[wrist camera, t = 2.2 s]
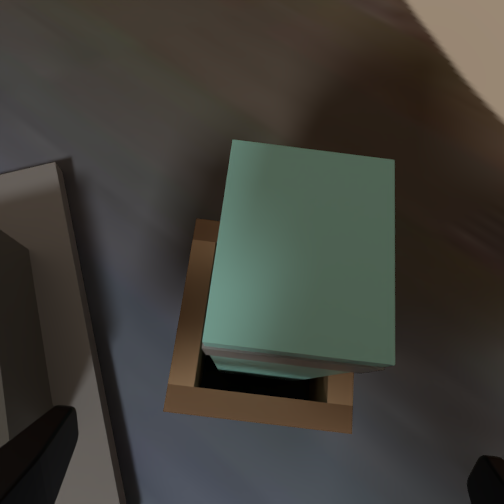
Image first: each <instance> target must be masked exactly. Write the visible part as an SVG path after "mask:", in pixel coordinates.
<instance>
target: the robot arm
mask: <svg viewBox="0 0 504 504" xmlns="http://www.w3.org/2000/svg"><path fill="white" fill-rule="evenodd" d="M78 435H79V430H78V421H77V412H76V409H75V408H74V407H72V406H65V405H56V406H54V407H52V408H51V409H50V410H48V411H47V412H46V413H44V414H43V415H42V416H41V417H39V418H38V419H37V420H35V421H34V422H33V423H31V424H30V425H29V426H28V427H26V428H25V429H24V430H22V431H21V432H20V433H18V434H17V435H16V436H15V437H13V438H12V439H11V440H9V441H8V442H7V443H5V444H4V445H3V446H2V447H0V504H55V502H56V499H57V496H58V493H59V491H60V488H61V485H62V482H63V480H64V477H65V474H66V472H67V469H68V466H69V463H70V461H71V458H72V455H73V452H74V450H75V447H76V444H77V441H78ZM467 488H468V493H469V497H470V501H471V504H504V460H503V459H502V458H500V457H495V456H487V455H482V456H481V457H479V458H478V460H477V462H476V464H475V466H474V467H473V469H472V471H471V473H470V475H469V477H468V480H467Z"/></svg>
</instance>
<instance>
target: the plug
mask: <svg viewBox="0 0 504 504" xmlns="http://www.w3.org/2000/svg"><path fill="white" fill-rule="evenodd" d="M202 350H203V351H204V353H205V354H206V355H210V356H211V358H212V360H213V362H214V363H215V365H216V367H217V369H218V370H219V372H220V373H228V374H237V375H245V376H253V377H262V378H270V379H278V380H287V381H298V380H305V379H311V378H317V377H324V376H330V375H336V374H343V373H349V372H353V373H367V372H374V371H382V370H384V367H387V366H393V365H395V160H392V159H384V158H376V157H368V156H360V155H352V154H344V153H336V152H328V151H320V150H312V149H304V148H296V147H288V146H280V145H273V144H265V143H257V142H249V141H241V140H232V147H231V153H230V160H229V166H228V173H227V180H226V186H225V193H224V200H223V206H222V213H221V220H220V226H219V233H218V240H217V246H216V253H215V260H214V266H213V273H212V279H211V286H210V293H209V299H208V306H207V313H206V319H205V326H204V333H203V339H202Z"/></svg>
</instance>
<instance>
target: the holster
mask: <svg viewBox="0 0 504 504" xmlns="http://www.w3.org/2000/svg"><path fill="white" fill-rule="evenodd" d="M219 226H220V221H213V220H205V219H196V224H195V229H194V235H193V241H192V247H191V253H190V259H189V264H188V270H187V276H186V282H185V288H184V293H183V299H182V305H181V311H180V317H179V323H178V328H177V334H176V340H175V346H174V352H173V357H172V363H171V369H170V375H169V381H168V387H167V392H166V398H165V404H164V410H163V412H171V413H180V414H188V415H197V416H205V417H214V418H222V419H230V420H239V421H247V422H256V423H264V424H273V425H281V426H289V427H298V428H306V429H315V430H323V431H332V432H340V433H348V434H352V412H353V378H354V373H353V372H349V373H343V374H336V375H330V376H324V377H317V378H311V379H310V384H309V400H308V401H307V400H299V399H291V398H282V397H274V396H266V395H257V394H249V393H240V392H232V391H224V390H215V389H207V388H201V383H202V376H203V370H204V363H205V356H206V354H205V353H204V351H203V350H202V339H203V333H204V326H205V319H206V313H207V306H208V299H209V293H210V286H211V279H212V273H213V266H214V260H215V253H216V246H217V240H218V233H219Z"/></svg>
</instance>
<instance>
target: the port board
mask: <svg viewBox="0 0 504 504" xmlns="http://www.w3.org/2000/svg"><path fill="white" fill-rule="evenodd" d="M56 405H65V406H72V407H74V408H75V409H76V412H77V421H78V430H79V435H78V441H77V444H76V447H75V450H74V452H73V455H72V458H71V461H70V463H69V466H68V469H67V472H66V474H65V477H64V480H63V482H62V485H61V488H60V491H59V493H58V496H57V499H56V502H55V504H127V503H126V498H125V493H124V488H123V483H122V477H121V472H120V467H119V462H118V457H117V452H116V446H115V441H114V436H113V431H112V426H111V421H110V415H109V410H108V405H107V400H106V395H105V390H104V384H103V379H102V374H101V369H100V364H99V359H98V353H97V348H96V343H95V338H94V333H93V328H92V322H91V317H90V312H89V307H88V302H87V297H86V291H85V286H84V281H83V276H82V271H81V266H80V260H79V255H78V250H77V245H76V240H75V235H74V229H73V224H72V219H71V214H70V209H69V204H68V198H67V193H66V188H65V183H64V178H63V173H62V170H61V169H60V168H59V167H58V165H57V164H56V163H55V162H53V163H49V164H44V165H40V166H36V167H31V168H27V169H23V170H19V171H14V172H10V173H6V174H1V175H0V447H2V446H3V445H4V444H5V443H7V442H8V441H9V440H11V439H12V438H13V437H15V436H16V435H17V434H18V433H20V432H21V431H22V430H24V429H25V428H26V427H28V426H29V425H30V424H31V423H33V422H34V421H35V420H37V419H38V418H39V417H41V416H42V415H43V414H44V413H46V412H47V411H48V410H50V409H51V408H52V407H54V406H56Z"/></svg>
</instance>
